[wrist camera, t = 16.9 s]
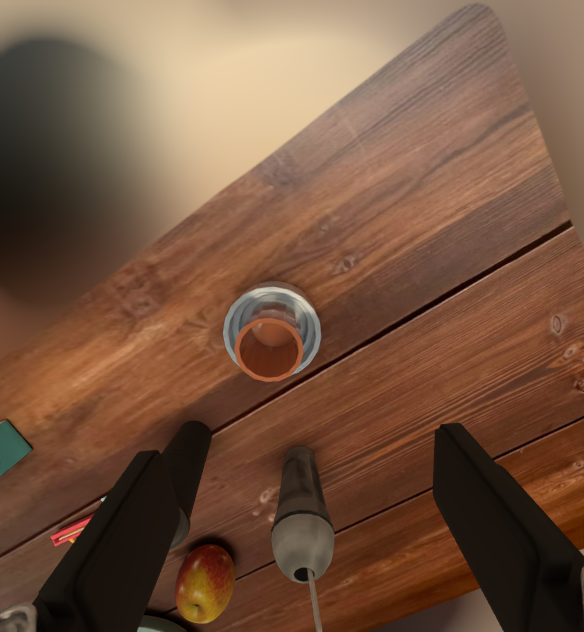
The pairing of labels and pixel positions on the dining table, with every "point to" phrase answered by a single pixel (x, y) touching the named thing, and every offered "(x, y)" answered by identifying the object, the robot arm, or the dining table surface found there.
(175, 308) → the dining table surface
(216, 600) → the fruit
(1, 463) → the game box
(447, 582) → the dining table surface
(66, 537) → the orange long tool
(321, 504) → the beverage cup
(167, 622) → the green plate
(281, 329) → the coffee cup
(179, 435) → the drinking cup
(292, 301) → the bowl
